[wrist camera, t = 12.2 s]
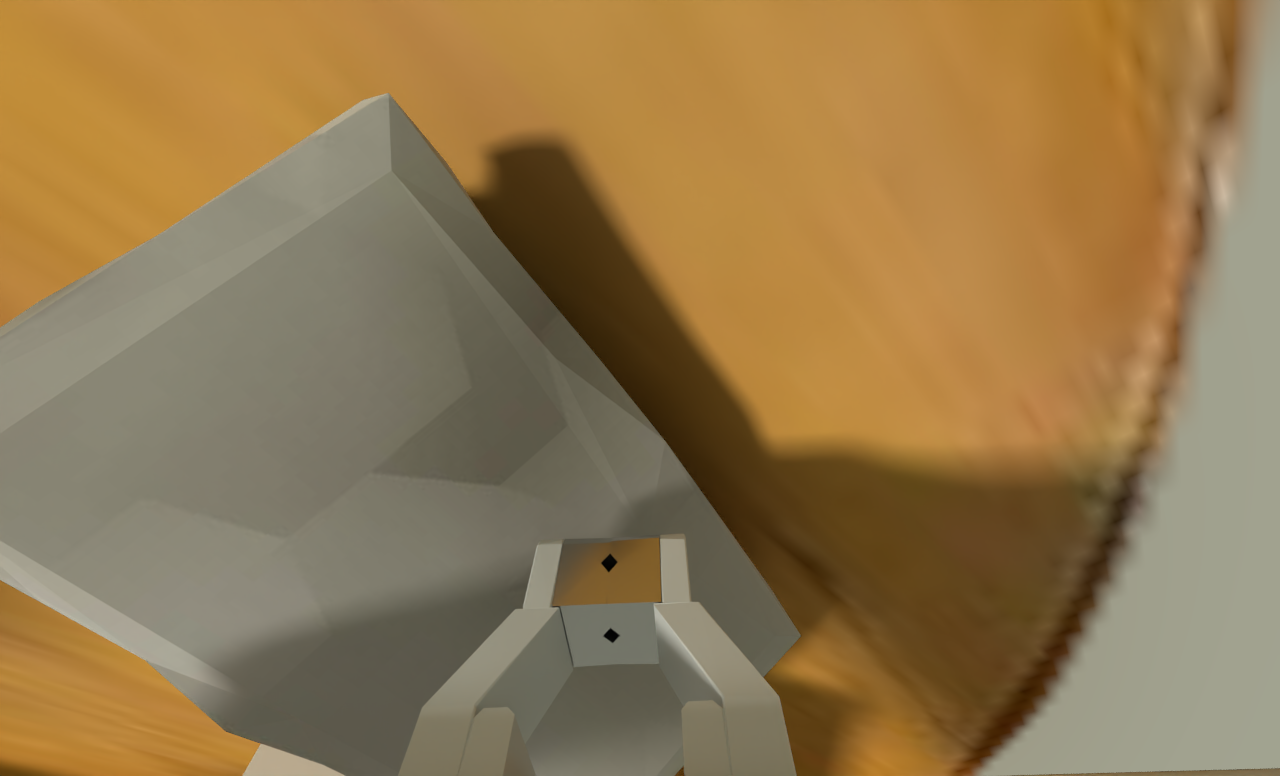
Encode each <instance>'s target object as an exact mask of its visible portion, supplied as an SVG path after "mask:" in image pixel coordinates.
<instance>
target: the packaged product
mask: <svg viewBox="0 0 1280 776" xmlns="http://www.w3.org/2000/svg"><path fill="white" fill-rule="evenodd" d="M666 534H684V535H685V537H686V547H687V558H688V569H689V580H690V590H691V601H692V602H700V603H701V605H702V606H703V607H704V608H705V609H706V611H707V612H708V613H709V614H710V615H711V616H712V618H713V619H714V620H715V621H716V622H717V624H718V625H719V626H720V627H721V628H722V629H723V631H724V632H725V633H726V634H727V635H728V637H729V638H730V639H731V640H732V641H733V642H734V644H735V645H736V646H737V647H738V648H739V650H740V651H741V652H742V653H743V654H744V655H745V657H746V658H747V659H748V660H749V661H750V663H751V664H752V665H753V666H754V667H755V668H756V670H757V671H758V672H759V673H760V674H761V675H762V677H764V676H765V675H766V674H767V673H768V672H769V671H770V669H771V668H772V667H773V666H774V665H775V664H776V663H777V662H778V661H779V660H780V659H781V657H782V656H783V655H784V654H785V653H786V652H787V651H788V650H789V649H790V648H791V647H792V645H793V644H794V643H795V642H796V641H797V640H798V639H799V638H800V637H801V635H800V634H799V632H798V630H797V629H796V627H795V626H794V624H793V622H792V621H791V619H790V618H789V616H788V615H787V613H786V611H785V610H784V608H783V607H782V605H781V604H780V602H779V600H778V599H777V597H776V596H775V594H774V592H773V591H772V589H771V588H770V587H769V585H768V584H767V582H766V581H765V580H764V578H763V577H762V575H761V574H760V573H759V571H758V570H757V568H756V567H755V566H754V564H753V563H752V561H751V560H750V559H749V557H748V556H747V554H746V553H745V552H744V550H743V549H742V547H741V546H740V545H739V543H738V542H737V540H736V539H735V538H734V536H733V535H732V533H731V532H730V531H729V529H728V528H727V526H726V525H725V524H724V522H723V521H722V519H721V518H720V517H719V515H718V514H717V512H716V511H715V510H714V508H713V507H712V505H711V504H710V503H709V501H708V500H707V499H706V497H705V496H704V494H703V493H702V492H701V490H700V489H699V487H698V486H697V485H696V483H695V482H694V480H693V479H692V478H691V476H690V475H689V473H688V472H687V471H686V469H685V468H684V467H683V465H682V464H681V462H680V461H679V460H678V458H677V457H676V455H675V454H674V453H673V451H672V450H671V448H670V447H669V446H668V444H667V443H666V441H665V440H664V439H663V438H662V436H661V435H660V434H659V433H658V431H657V430H656V429H655V428H654V426H653V425H652V424H651V423H650V421H649V420H648V419H647V418H646V417H645V415H644V414H643V413H642V412H641V410H640V409H639V408H638V407H637V405H636V404H635V403H634V402H633V400H632V399H631V398H630V397H629V395H628V394H627V393H626V392H625V390H624V389H623V388H622V387H621V385H620V384H619V383H618V382H617V380H616V379H615V378H614V377H613V375H612V374H611V373H610V372H609V370H608V369H607V368H606V367H605V365H604V364H603V363H602V362H601V360H600V359H599V358H598V357H597V356H596V354H595V353H594V352H593V351H592V350H591V348H590V347H589V346H588V345H587V344H586V342H585V341H584V340H583V339H582V338H581V336H580V335H579V334H578V333H577V332H576V330H575V329H574V328H573V327H572V326H571V324H570V323H569V322H568V321H567V320H566V318H565V317H564V316H563V315H562V314H561V313H560V311H559V310H558V309H557V308H556V307H555V305H554V304H553V303H552V302H551V301H550V299H549V298H548V297H547V296H546V295H545V293H544V292H543V291H542V290H541V289H540V287H539V286H538V285H537V284H536V283H535V281H534V280H533V279H532V278H531V277H530V275H529V274H528V273H527V272H526V271H525V269H524V268H523V267H522V266H521V265H520V263H519V262H518V261H517V260H516V259H515V258H514V256H513V255H512V254H511V253H510V252H509V250H508V249H507V248H506V247H505V246H504V244H503V243H502V242H501V241H500V240H499V238H498V237H497V236H496V235H495V234H494V232H493V231H492V229H491V228H490V226H489V225H488V223H487V222H486V220H485V219H484V217H483V216H482V214H481V213H480V212H479V210H478V209H477V207H476V206H475V204H474V203H473V201H472V200H471V198H470V197H469V195H468V194H467V192H466V191H465V189H464V188H463V186H462V185H461V183H460V182H459V180H458V179H457V177H456V176H455V174H454V173H453V171H452V170H451V169H450V167H449V166H448V164H447V163H446V161H445V160H444V159H443V158H442V157H441V155H440V154H439V153H438V152H437V151H436V149H435V148H434V147H433V146H432V145H431V143H430V142H429V141H428V140H427V139H426V137H425V136H424V135H423V134H422V133H421V131H420V130H419V129H418V128H417V127H416V125H415V124H414V123H413V122H412V121H411V119H410V118H409V117H408V116H407V115H406V113H405V112H404V111H403V110H402V109H401V107H400V106H399V105H398V104H397V103H396V101H395V100H394V99H393V98H392V97H391V95H390V94H389V93H386V94H383V95H379V96H376V97H372V98H369V99H365V100H362V101H361V102H359V103H358V104H356V105H355V106H353V107H352V108H350V109H349V110H347V111H346V112H344V113H343V114H341V115H340V116H338V117H337V118H335V119H334V120H332V121H331V122H329V123H328V124H326V125H325V126H323V127H321V128H320V129H318V130H317V131H315V132H314V133H312V134H311V135H309V136H308V137H306V138H305V139H303V140H302V141H300V142H299V143H297V144H296V145H294V146H293V147H291V148H290V149H288V150H287V151H285V152H284V153H282V154H280V155H279V156H277V157H276V158H274V159H273V160H271V161H270V162H268V163H267V164H265V165H264V166H262V167H261V168H259V169H258V170H256V171H255V172H253V173H252V174H250V175H249V176H247V177H246V178H244V179H243V180H241V181H240V182H238V183H236V184H235V185H233V186H232V187H230V188H229V189H227V190H226V191H224V192H223V193H221V194H220V195H218V196H217V197H215V198H214V199H212V200H211V201H209V202H208V203H206V204H205V205H203V206H202V207H200V208H199V209H197V210H195V211H194V212H192V213H191V214H189V215H188V216H186V217H185V218H183V219H182V220H180V221H179V222H177V223H176V224H174V225H173V226H171V227H170V228H168V229H167V230H165V231H164V232H162V233H161V234H159V235H157V236H156V237H154V238H152V239H150V240H148V241H147V242H145V243H143V244H141V245H140V246H138V247H136V248H134V249H132V250H131V251H129V252H127V253H125V254H123V255H122V256H120V257H118V258H116V259H114V260H113V261H111V262H109V263H107V264H105V265H104V266H102V267H100V268H98V269H97V270H95V271H93V272H91V273H89V274H88V275H86V276H84V277H82V278H80V279H79V280H77V281H75V282H73V283H71V284H70V285H68V286H66V287H64V288H62V289H61V290H59V291H57V292H55V293H54V294H52V295H50V296H48V297H46V298H45V299H43V300H41V301H39V302H38V303H36V304H35V305H33V306H32V307H30V308H29V309H27V310H26V311H24V312H23V313H21V314H20V315H18V316H17V317H15V318H14V319H12V320H11V321H9V322H8V323H7V324H5V325H4V326H2V327H1V328H0V580H1V581H3V582H5V583H7V584H8V585H10V586H12V587H14V588H16V589H18V590H19V591H21V592H23V593H25V594H27V595H28V596H30V597H32V598H34V599H36V600H38V601H39V602H41V603H43V604H45V605H47V606H48V607H50V608H52V609H54V610H56V611H57V612H59V613H61V614H63V615H65V616H66V617H68V618H70V619H72V620H74V621H75V622H77V623H79V624H81V625H83V626H84V627H86V628H88V629H90V630H92V631H93V632H95V633H97V634H99V635H101V636H103V637H104V638H106V639H108V640H110V641H112V642H113V643H115V644H117V645H119V646H121V647H122V648H124V649H126V650H128V651H130V652H131V653H133V654H135V655H137V656H139V657H140V658H142V659H144V660H145V661H147V662H148V663H149V664H150V665H151V666H152V667H153V668H155V669H156V670H157V671H158V672H159V673H160V674H161V675H162V676H164V677H165V678H166V679H167V680H168V681H169V682H170V683H172V684H173V685H174V686H175V687H176V688H177V689H178V690H179V691H181V692H182V693H183V694H184V695H185V696H186V697H187V698H189V699H190V700H191V701H192V702H193V703H194V704H195V705H197V706H198V707H199V708H200V709H201V710H202V711H203V712H204V713H206V714H207V715H208V716H209V717H210V718H211V719H212V720H214V721H215V722H216V723H217V724H218V725H219V726H220V727H221V728H223V729H224V730H225V731H226V732H229V733H232V734H235V735H238V736H240V737H243V738H246V739H249V740H252V741H255V742H258V743H261V744H264V745H267V746H270V747H273V748H275V749H278V750H281V751H284V752H287V753H290V754H293V755H296V756H299V757H302V758H305V759H308V760H310V761H313V762H316V763H319V764H322V765H324V766H326V767H329V768H331V769H333V770H335V771H337V772H339V773H341V774H343V775H345V776H398V774H399V771H400V768H401V766H402V763H403V760H404V757H405V754H406V751H407V749H408V746H409V743H410V740H411V737H412V735H413V732H414V729H415V726H416V723H417V720H418V718H419V715H420V712H421V709H422V707H423V706H424V705H425V704H426V703H427V702H428V701H429V700H430V699H431V697H432V696H433V695H434V694H435V693H436V692H437V691H438V690H439V689H440V688H441V687H442V686H443V685H444V684H445V683H446V682H447V681H448V680H449V678H450V677H451V676H452V675H453V674H454V673H455V672H456V671H457V670H458V669H459V668H460V667H461V666H462V665H463V664H464V663H465V662H466V661H467V659H468V658H469V657H470V656H471V655H472V654H473V653H474V652H475V651H476V650H477V649H478V648H479V647H480V646H481V645H482V644H483V643H484V641H485V640H486V639H487V638H488V637H489V636H490V635H491V634H492V633H493V632H494V631H495V630H496V629H497V628H498V627H499V626H500V625H501V624H502V622H503V621H504V620H505V619H506V618H507V617H508V616H509V615H510V614H511V613H512V612H513V611H514V610H515V609H523V604H524V600H525V596H526V591H527V587H528V583H529V578H530V574H531V569H532V565H533V561H534V556H535V552H536V548H537V545H538V543H539V542H540V540H556V539H585V538H612V537H628V536H645V535H666ZM682 708H683V705H682V703H681V702H680V700H679V698H678V697H677V695H676V693H675V692H674V690H673V688H672V687H671V685H670V683H669V682H668V680H667V678H666V677H665V675H664V673H663V672H662V670H661V668H660V667H659V664H613V665H597V666H582V667H573V671H572V673H571V674H570V676H569V677H568V679H567V681H566V682H565V684H564V685H563V687H562V688H561V690H560V691H559V693H558V694H557V696H556V697H555V699H554V701H553V702H552V704H551V705H550V707H549V708H548V710H547V711H546V713H545V714H544V716H543V717H542V719H541V721H540V722H539V724H538V725H537V727H536V728H535V730H534V731H533V733H532V734H531V736H530V738H529V739H528V741H527V742H526V744H525V746H526V749H527V751H528V754H529V757H530V760H531V763H532V766H533V769H534V771H535V774H536V776H675V775H676V774H677V772H678V771H679V770H680V769H681V768H682V767H683V766H684V758H683V735H682V713H681V709H682Z"/></svg>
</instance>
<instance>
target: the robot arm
mask: <svg viewBox="0 0 1280 776" xmlns="http://www.w3.org/2000/svg"><path fill="white" fill-rule="evenodd" d="M613 664H659V667H660V668H661V670H662V672H663V673H664V675H665V677H666V678H667V680H668V682H669V683H670V685H671V687H672V688H673V690H674V692H675V693H676V695H677V697H678V698H679V700H680V702H681V703H682V705H683V708H682V709H681V713H682V735H683V758H684V776H797V775H796V770H795V766H794V761H793V757H792V752H791V747H790V743H789V738H788V734H787V729H786V725H785V720H784V715H783V711H782V706H781V702H780V697H779V696H778V694H777V693H776V692H775V691H774V690H773V688H772V687H771V686H770V685H769V684H768V683H767V681H766V680H765V679H764V678H763V677H762V675H761V674H760V673H759V672H758V671H757V670H756V668H755V667H754V666H753V665H752V664H751V663H750V661H749V660H748V659H747V658H746V657H745V655H744V654H743V653H742V652H741V651H740V650H739V648H738V647H737V646H736V645H735V644H734V642H733V641H732V640H731V639H730V638H729V637H728V635H727V634H726V633H725V632H724V631H723V629H722V628H721V627H720V626H719V625H718V624H717V622H716V621H715V620H714V619H713V618H712V616H711V615H710V614H709V613H708V612H707V611H706V609H705V608H704V607H703V606H702V605H701V603H700V602H692V601H691V590H690V580H689V569H688V558H687V547H686V537H685V535H684V534H666V535H645V536H628V537H612V538H585V539H556V540H540V542H539V543H538V545H537V548H536V552H535V556H534V561H533V565H532V569H531V574H530V578H529V583H528V587H527V591H526V596H525V600H524V604H523V609H515V610H514V611H513V612H512V613H511V614H510V615H509V616H508V617H507V618H506V619H505V620H504V621H503V622H502V624H501V625H500V626H499V627H498V628H497V629H496V630H495V631H494V632H493V633H492V634H491V635H490V636H489V637H488V638H487V639H486V640H485V641H484V643H483V644H482V645H481V646H480V647H479V648H478V649H477V650H476V651H475V652H474V653H473V654H472V655H471V656H470V657H469V658H468V659H467V661H466V662H465V663H464V664H463V665H462V666H461V667H460V668H459V669H458V670H457V671H456V672H455V673H454V674H453V675H452V676H451V677H450V678H449V680H448V681H447V682H446V683H445V684H444V685H443V686H442V687H441V688H440V689H439V690H438V691H437V692H436V693H435V694H434V695H433V696H432V697H431V699H430V700H429V701H428V702H427V703H426V704H425V705H424V706H423V707H422V709H421V712H420V715H419V718H418V720H417V723H416V726H415V729H414V732H413V735H412V737H411V740H410V743H409V746H408V749H407V751H406V754H405V757H404V760H403V763H402V766H401V768H400V771H399V774H398V776H536V774H535V771H534V769H533V766H532V763H531V760H530V757H529V754H528V751H527V749H526V746H525V744H526V742H527V741H528V739H529V738H530V736H531V734H532V733H533V731H534V730H535V728H536V727H537V725H538V724H539V722H540V721H541V719H542V717H543V716H544V714H545V713H546V711H547V710H548V708H549V707H550V705H551V704H552V702H553V701H554V699H555V697H556V696H557V694H558V693H559V691H560V690H561V688H562V687H563V685H564V684H565V682H566V681H567V679H568V677H569V676H570V674H571V673H572V671H573V667H582V666H597V665H613ZM1012 776H1013V775H1012ZM1014 776H1280V768H1275V769H1237V770H1200V771H1161V772H1125V773H1087V774H1051V775H1050V774H1049V775H1014Z"/></svg>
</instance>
